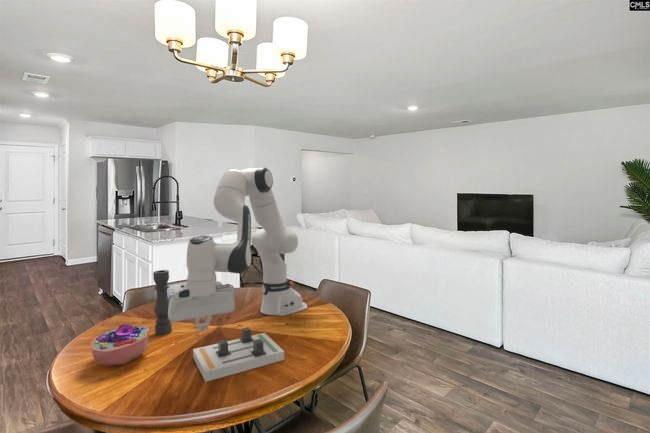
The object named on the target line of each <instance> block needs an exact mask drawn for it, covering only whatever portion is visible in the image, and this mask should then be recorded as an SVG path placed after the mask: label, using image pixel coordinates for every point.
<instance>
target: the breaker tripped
mask: <svg viewBox="0 0 650 433" xmlns="http://www.w3.org/2000/svg"><path fill="white" fill-rule="evenodd" d="M217 341H218V342H217V344H218V351H216V354H217V355H218V357H222V356H226V355H230V354H231V353H230V351H229V350H228V342H227V340H226V339H221V340H217Z"/></svg>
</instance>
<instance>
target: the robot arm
mask: <svg viewBox="0 0 650 433" xmlns="http://www.w3.org/2000/svg"><path fill="white" fill-rule="evenodd" d="M273 183H274V178H273V173H271V171H270V170H269V169H268V168H267V167H262V166H261V167H259V166H258V167H251V168H244V169H243V168H242V170H239V169H235V168H234V169H233V168H231V169H227V170H226V171H225V172H224V173H223V175H222V176H221V178H220V179H219V182H218V184H217V187H216V189H215V193H214V196H213V207H214V209H215V210H216V212H217V213H218V214H219V215H220V216H222V217H223V218H226V219H228V220H231V221H233V222H235V223H237V233H236V234H237V235H236V236H237V237H236V241H235V242H234V243H218V242H217V243H216V242H215V240H214V237H212V236H210V235H198V236H193V237H192V238H191V239H189V240H188V243H187V249H186V268H187V278H186V282H183V283H181V284H178V285H176V286H174V287H173V288H172V289H171V294H172V295H173V296H172V297H171V299H170V298H169V307H168V318H169V320H170V322H171V323H176V322H181V321H186V320H188V321H189V320H193V319H194V322H195V323H196V325H197V330H198V331H199V332H201V331H206V330H209V325H210V322H211V321H212V319H213V318H212V317H213V316H216V315H221V314H227V313H233V312H234V310H235V309H236V306H235V305H236V304H235V297H234V295H235V286H234V285H232V284H230V283H225V284H222V285H216V281H217V272H218V273H231V274H239V275H240V274H243V273H245V272H246V271H247V270H248V269H249V268H250V267H251V265H252V249H251V247H254V248H255V249H256V251H257V253H258V255H259V258H260V261H261V265H262V277H263V279H262V281H261V282H262V286H261V289H262V290H261V292H262V302H261V306H260V313H262V314H264V315H269V316H280V317H284V316H287V315H292V314H294V313H299V312H301V311H304V310H307V309H308V305H307V303H305V302H303V298H302V295H301V293H300V292H298V291H296V290H295V289H293V288H292V287H294V285H295V282H293V281H292V280H291V281H290V280H288V279H287V277H288V275H287V269H288V268H287V264H286V262H285V261H284V259H282V257H281V255H280V254H282V255H285V254H291V253H293V252H295V251H296V250H297V248H298V244H299V238H298V236H297V234H296V233H295V232H293V231H292V230H291V229H290V228H289V227H288V226H287V224H286V223H285V221H284V220H283V218H282V217H281V215H280V212H279V209H278V205H277V202H276V199H275V195H274V192H273V190H272V187H273ZM246 197H248V198H249V202H250V206H251V209H252V213H253V216H254V220H255V222H256V223H257V225H259V226H260V227H261V228H259V229H257V230H255V231H253V233H251V232H252V231H251V230H252V218H251V211H250V207H249V206H248V205H246V204H245V200H246ZM251 244H252V246H251ZM200 318H206V319H205V322H203V323H200V322H199V321H200V320H201V319H200Z"/></svg>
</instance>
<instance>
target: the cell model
mask: <svg viewBox="0 0 650 433" xmlns="http://www.w3.org/2000/svg"><path fill="white" fill-rule="evenodd" d="M149 334H150V328H149V327H148V326H144V325H135V326H133V324H130V323H129V324H128V323H124V324H121V325H120V326H119V327H118V328H114V329H110V330H107V331H105V332H103V333H101V334H98V335H97V336H95V338H93V340H91V341H90V346H91V354H92V358H93V360H94V361H95V362H97V363H98V364H101V365H105V366H121V365H126V364H127V363H129V362H131V361H133V360H134V359H136V358H137V357H139V356H141V355H142V354H143V353H144V352H145V351H146V349H147V347H148V344H149Z"/></svg>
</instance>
